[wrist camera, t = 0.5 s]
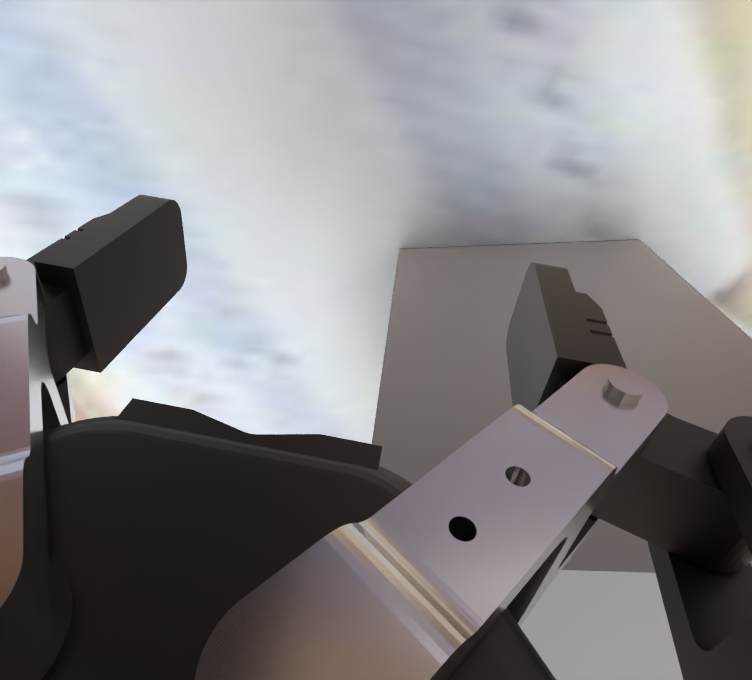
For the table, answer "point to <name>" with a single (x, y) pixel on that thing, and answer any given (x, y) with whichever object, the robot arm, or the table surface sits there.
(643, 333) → the grey rectangular block
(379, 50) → the table surface
